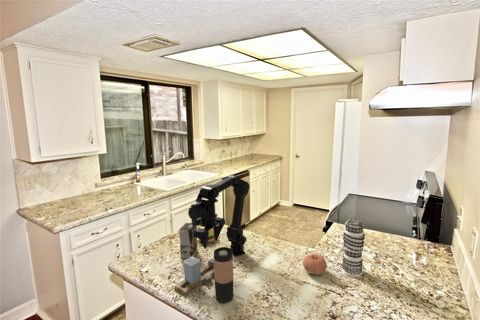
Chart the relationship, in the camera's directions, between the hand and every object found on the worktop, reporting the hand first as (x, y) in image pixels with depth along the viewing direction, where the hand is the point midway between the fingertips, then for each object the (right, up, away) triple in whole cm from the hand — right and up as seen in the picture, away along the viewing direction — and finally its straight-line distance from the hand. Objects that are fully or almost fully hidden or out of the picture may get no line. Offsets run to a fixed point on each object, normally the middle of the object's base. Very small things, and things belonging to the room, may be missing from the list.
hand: (210, 244), depth 125 cm
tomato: (+49, -13, -2) cm, 51 cm away
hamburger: (-6, -8, +34) cm, 36 cm away
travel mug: (+8, -16, -18) cm, 25 cm away
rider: (-7, -15, -9) cm, 18 cm away
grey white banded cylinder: (+67, -12, -2) cm, 68 cm away
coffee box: (-13, -11, +17) cm, 24 cm away
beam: (-3, -14, -6) cm, 16 cm away
